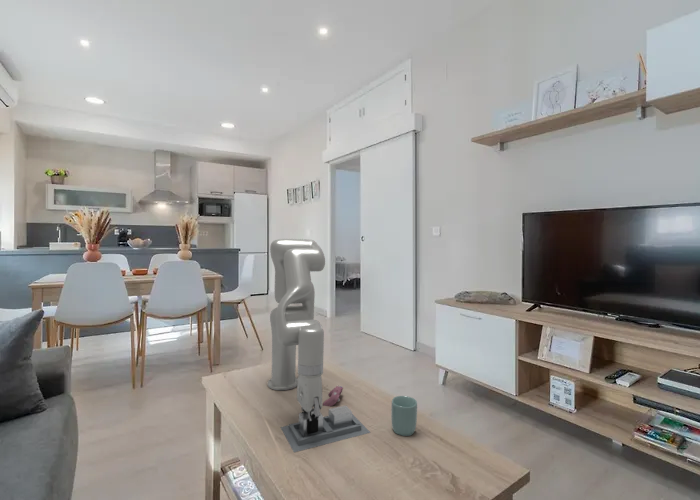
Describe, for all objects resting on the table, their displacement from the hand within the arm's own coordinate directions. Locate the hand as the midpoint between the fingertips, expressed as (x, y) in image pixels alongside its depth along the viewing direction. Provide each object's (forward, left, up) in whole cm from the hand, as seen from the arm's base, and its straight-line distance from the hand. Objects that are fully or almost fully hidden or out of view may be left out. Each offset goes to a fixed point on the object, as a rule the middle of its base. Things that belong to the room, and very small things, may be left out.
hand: (309, 427), depth 105 cm
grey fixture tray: (0, +5, -3) cm, 6 cm away
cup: (+10, +27, -3) cm, 29 cm away
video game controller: (-17, +15, -3) cm, 23 cm away
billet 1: (0, 0, -1) cm, 1 cm away
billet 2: (0, +10, -2) cm, 10 cm away
